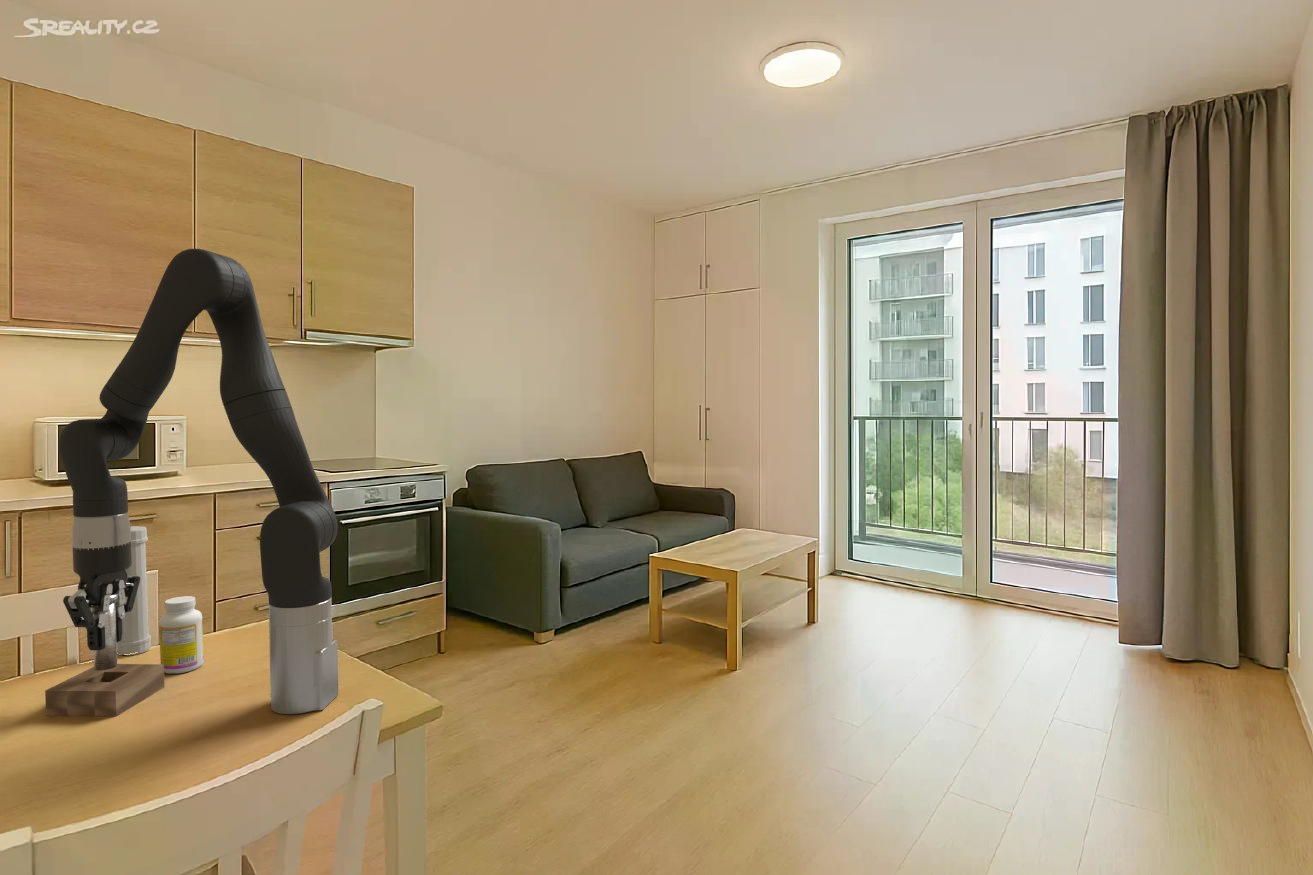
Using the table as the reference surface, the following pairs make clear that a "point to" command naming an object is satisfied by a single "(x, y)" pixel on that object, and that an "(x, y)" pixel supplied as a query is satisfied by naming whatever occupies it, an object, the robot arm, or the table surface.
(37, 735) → the table surface
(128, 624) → the pipe
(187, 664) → the supplement bottle
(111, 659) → the pin
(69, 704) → the socket block
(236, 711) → the table surface
